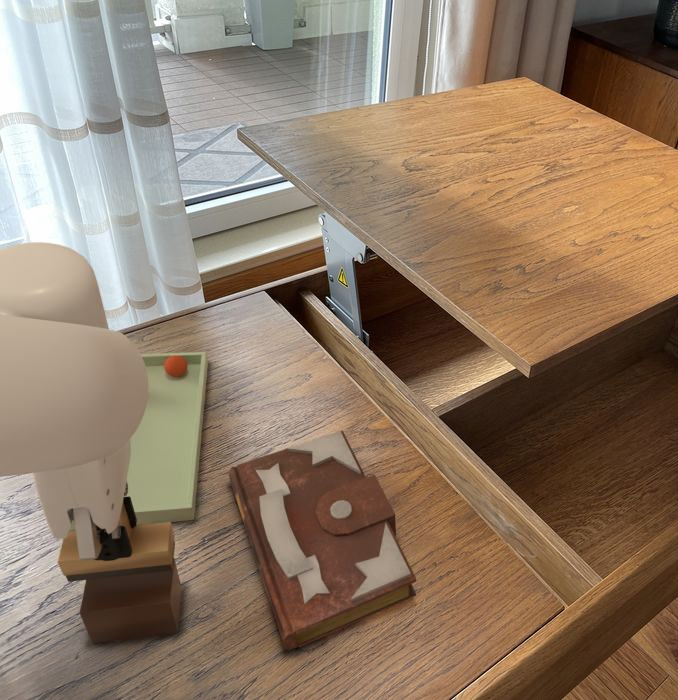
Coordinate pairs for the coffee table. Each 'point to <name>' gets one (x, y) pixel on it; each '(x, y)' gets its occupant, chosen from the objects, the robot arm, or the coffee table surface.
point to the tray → (168, 442)
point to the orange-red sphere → (175, 366)
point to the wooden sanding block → (147, 557)
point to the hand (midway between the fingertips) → (115, 540)
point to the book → (321, 538)
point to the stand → (132, 606)
